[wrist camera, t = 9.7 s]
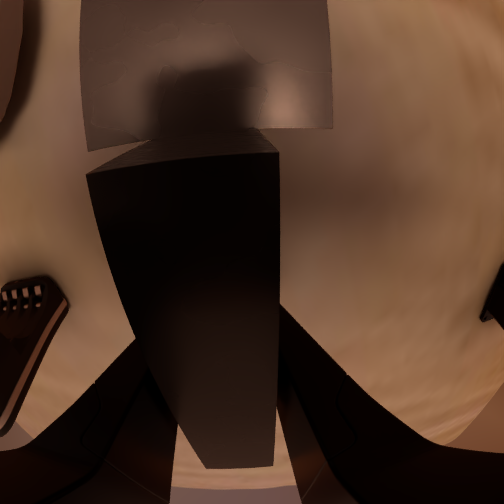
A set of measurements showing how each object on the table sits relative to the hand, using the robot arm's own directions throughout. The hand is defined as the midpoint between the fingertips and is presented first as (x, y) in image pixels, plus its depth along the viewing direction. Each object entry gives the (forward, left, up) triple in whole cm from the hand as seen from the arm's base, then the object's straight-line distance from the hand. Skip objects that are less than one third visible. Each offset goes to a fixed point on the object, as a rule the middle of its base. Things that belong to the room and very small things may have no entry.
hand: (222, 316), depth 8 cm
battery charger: (+15, +4, -8) cm, 17 cm away
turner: (0, -3, -1) cm, 4 cm away
